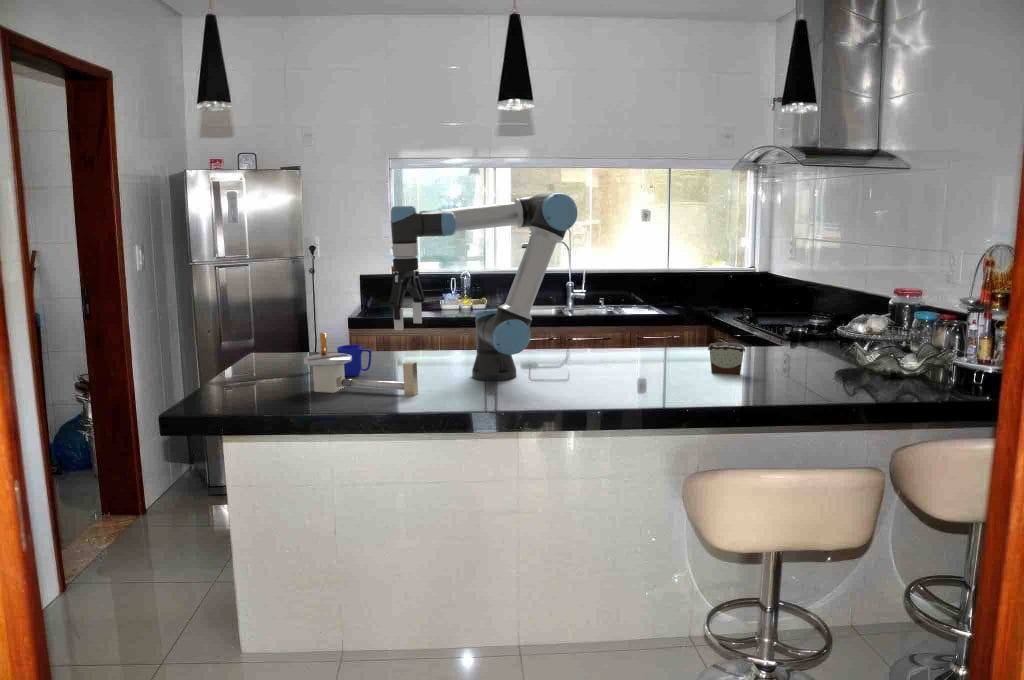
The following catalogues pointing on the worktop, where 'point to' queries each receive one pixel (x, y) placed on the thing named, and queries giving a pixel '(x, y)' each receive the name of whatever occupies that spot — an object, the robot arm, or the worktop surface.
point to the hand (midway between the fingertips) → (408, 326)
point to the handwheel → (327, 356)
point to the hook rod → (408, 385)
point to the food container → (726, 358)
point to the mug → (354, 359)
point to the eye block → (328, 378)
